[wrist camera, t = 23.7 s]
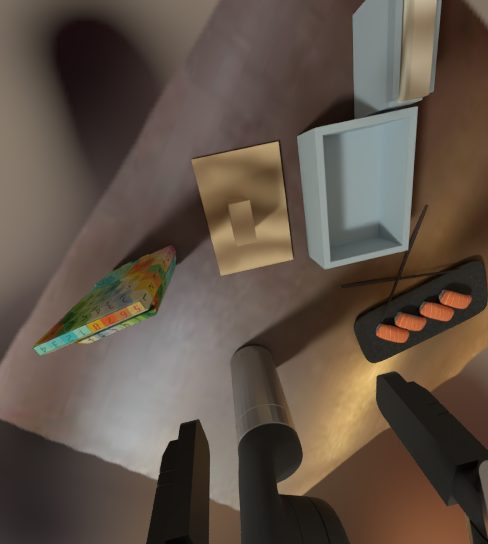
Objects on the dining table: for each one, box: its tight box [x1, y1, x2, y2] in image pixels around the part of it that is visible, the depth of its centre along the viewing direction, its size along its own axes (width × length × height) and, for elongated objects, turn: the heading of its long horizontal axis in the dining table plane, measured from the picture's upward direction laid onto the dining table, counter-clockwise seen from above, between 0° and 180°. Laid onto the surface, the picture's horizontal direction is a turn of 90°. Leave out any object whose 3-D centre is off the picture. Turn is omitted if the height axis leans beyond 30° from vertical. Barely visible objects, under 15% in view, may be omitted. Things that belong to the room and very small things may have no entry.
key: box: [398, 0, 437, 103], centre depth 27 cm, size 12×2×2 cm, turn 11°
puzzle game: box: [33, 245, 176, 356], centre depth 33 cm, size 12×5×20 cm, turn 113°
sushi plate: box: [341, 205, 488, 363], centre depth 49 cm, size 29×30×4 cm
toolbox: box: [297, 0, 442, 269], centre depth 35 cm, size 33×14×9 cm, turn 11°
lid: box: [192, 142, 293, 276], centre depth 38 cm, size 20×14×8 cm
